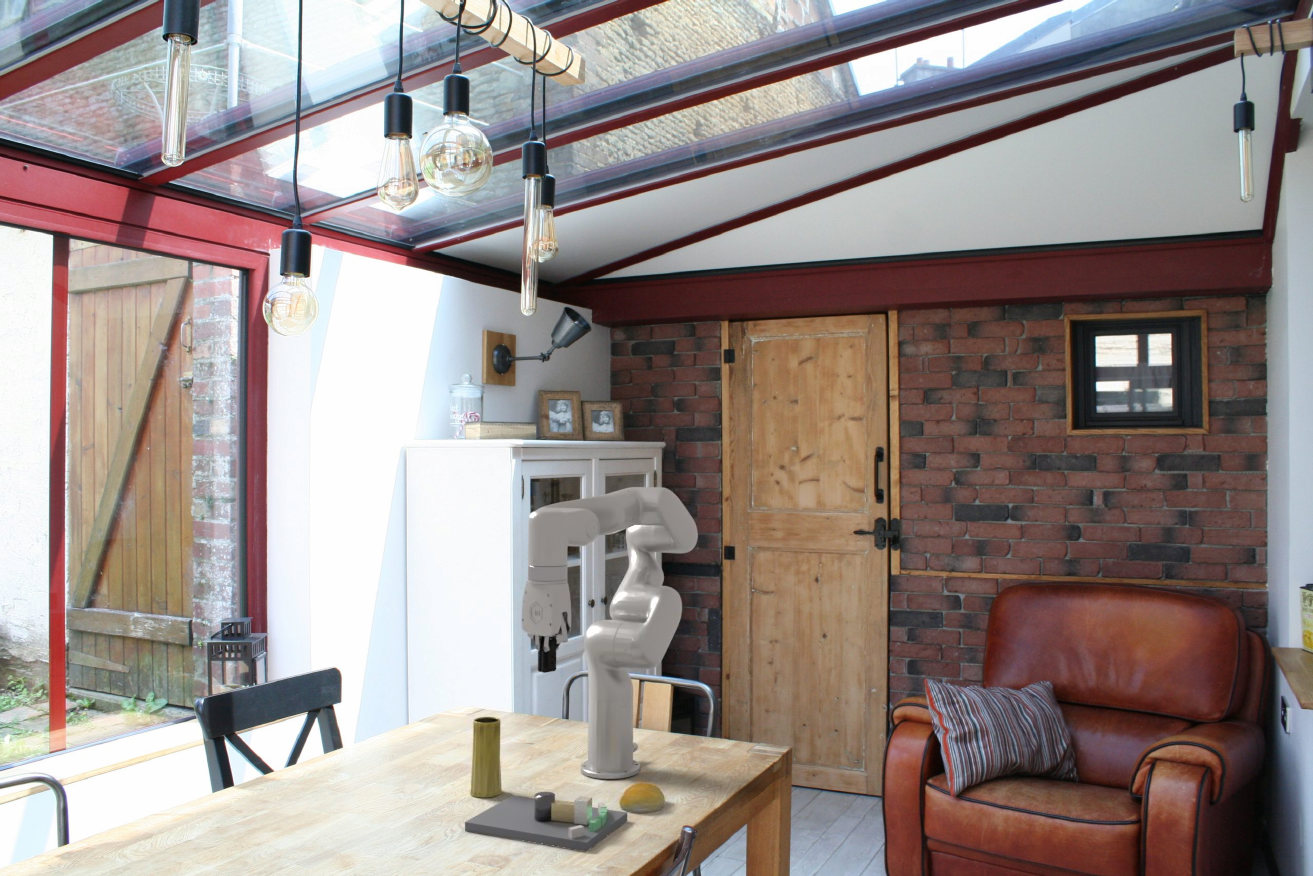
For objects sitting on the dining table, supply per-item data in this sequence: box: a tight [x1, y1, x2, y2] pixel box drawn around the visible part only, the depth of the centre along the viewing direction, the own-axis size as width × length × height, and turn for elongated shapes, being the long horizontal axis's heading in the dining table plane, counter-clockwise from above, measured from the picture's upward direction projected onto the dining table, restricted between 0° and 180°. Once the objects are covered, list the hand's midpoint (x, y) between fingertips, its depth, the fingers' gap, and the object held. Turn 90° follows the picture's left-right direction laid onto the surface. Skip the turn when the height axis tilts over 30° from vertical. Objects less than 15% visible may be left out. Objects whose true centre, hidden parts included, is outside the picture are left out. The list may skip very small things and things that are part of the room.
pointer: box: [534, 791, 593, 825], centre depth 173 cm, size 10×4×4 cm, turn 74°
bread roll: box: [619, 782, 666, 814], centre depth 186 cm, size 8×9×4 cm
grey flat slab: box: [464, 795, 628, 852], centre depth 175 cm, size 16×24×3 cm, turn 67°
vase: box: [470, 716, 503, 799], centre depth 193 cm, size 6×6×14 cm
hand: (547, 671), depth 187 cm, fingers closed
